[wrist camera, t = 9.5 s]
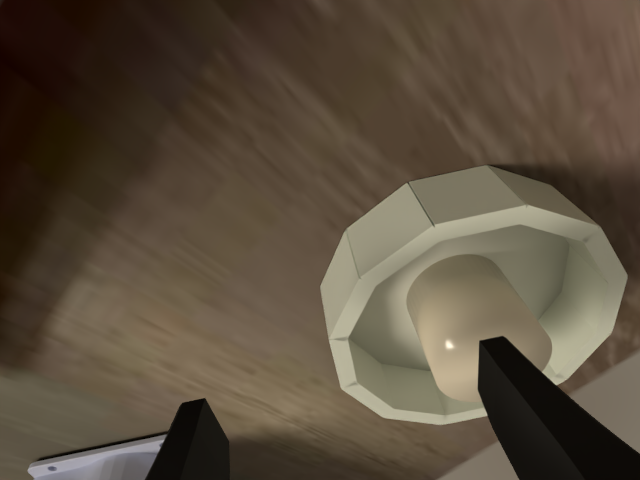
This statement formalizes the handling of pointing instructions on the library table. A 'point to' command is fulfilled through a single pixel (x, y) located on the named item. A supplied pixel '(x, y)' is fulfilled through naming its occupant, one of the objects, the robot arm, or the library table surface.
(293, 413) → the library table surface
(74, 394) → the library table surface
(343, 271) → the bowl
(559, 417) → the robot arm
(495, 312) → the marshmallow
